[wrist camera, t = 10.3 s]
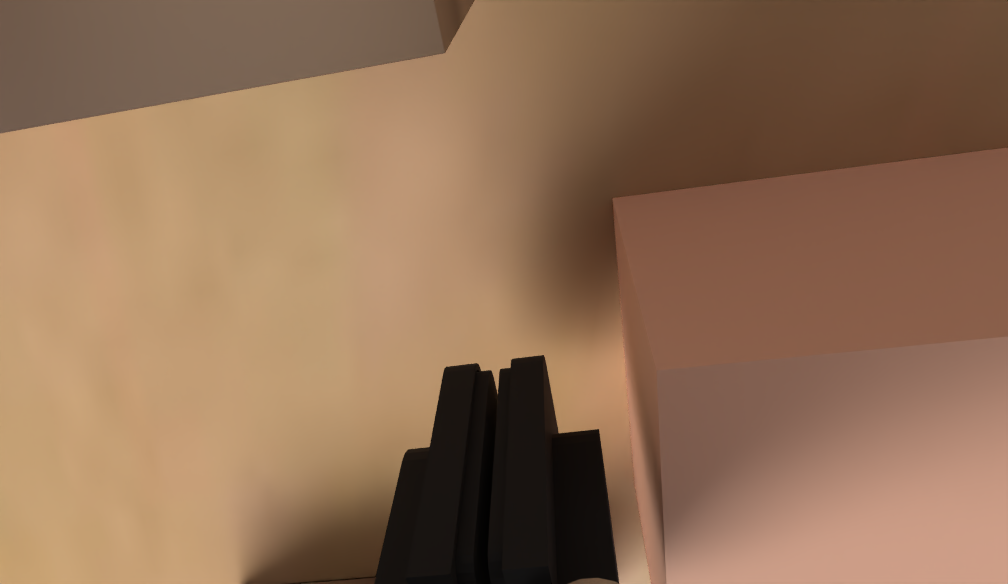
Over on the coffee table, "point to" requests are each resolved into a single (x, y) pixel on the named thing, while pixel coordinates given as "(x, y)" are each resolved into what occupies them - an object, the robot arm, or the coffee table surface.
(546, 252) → the coffee table surface
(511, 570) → the robot arm
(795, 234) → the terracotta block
